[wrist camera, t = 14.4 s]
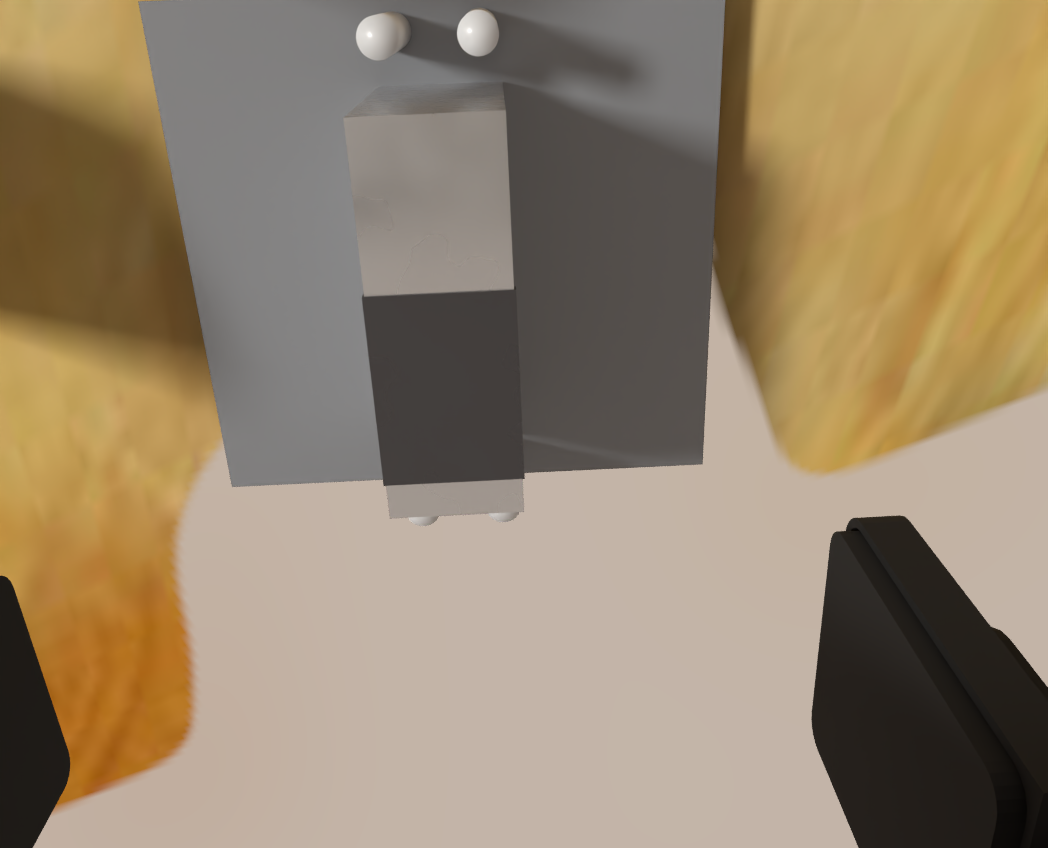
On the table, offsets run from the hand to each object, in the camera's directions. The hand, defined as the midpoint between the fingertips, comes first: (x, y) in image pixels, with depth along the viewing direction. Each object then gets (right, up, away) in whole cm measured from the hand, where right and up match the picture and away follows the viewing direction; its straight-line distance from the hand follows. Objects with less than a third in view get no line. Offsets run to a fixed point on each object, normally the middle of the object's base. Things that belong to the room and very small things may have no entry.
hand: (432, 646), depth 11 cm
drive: (-1, +8, +18) cm, 19 cm away
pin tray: (-1, +8, +19) cm, 20 cm away
